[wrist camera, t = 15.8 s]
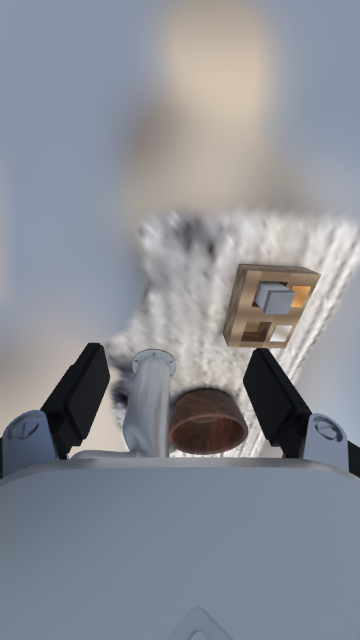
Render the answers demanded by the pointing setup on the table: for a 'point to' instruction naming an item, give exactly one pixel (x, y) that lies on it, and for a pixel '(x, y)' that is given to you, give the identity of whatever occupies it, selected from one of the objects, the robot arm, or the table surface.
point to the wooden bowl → (206, 423)
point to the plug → (273, 297)
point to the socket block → (249, 319)
